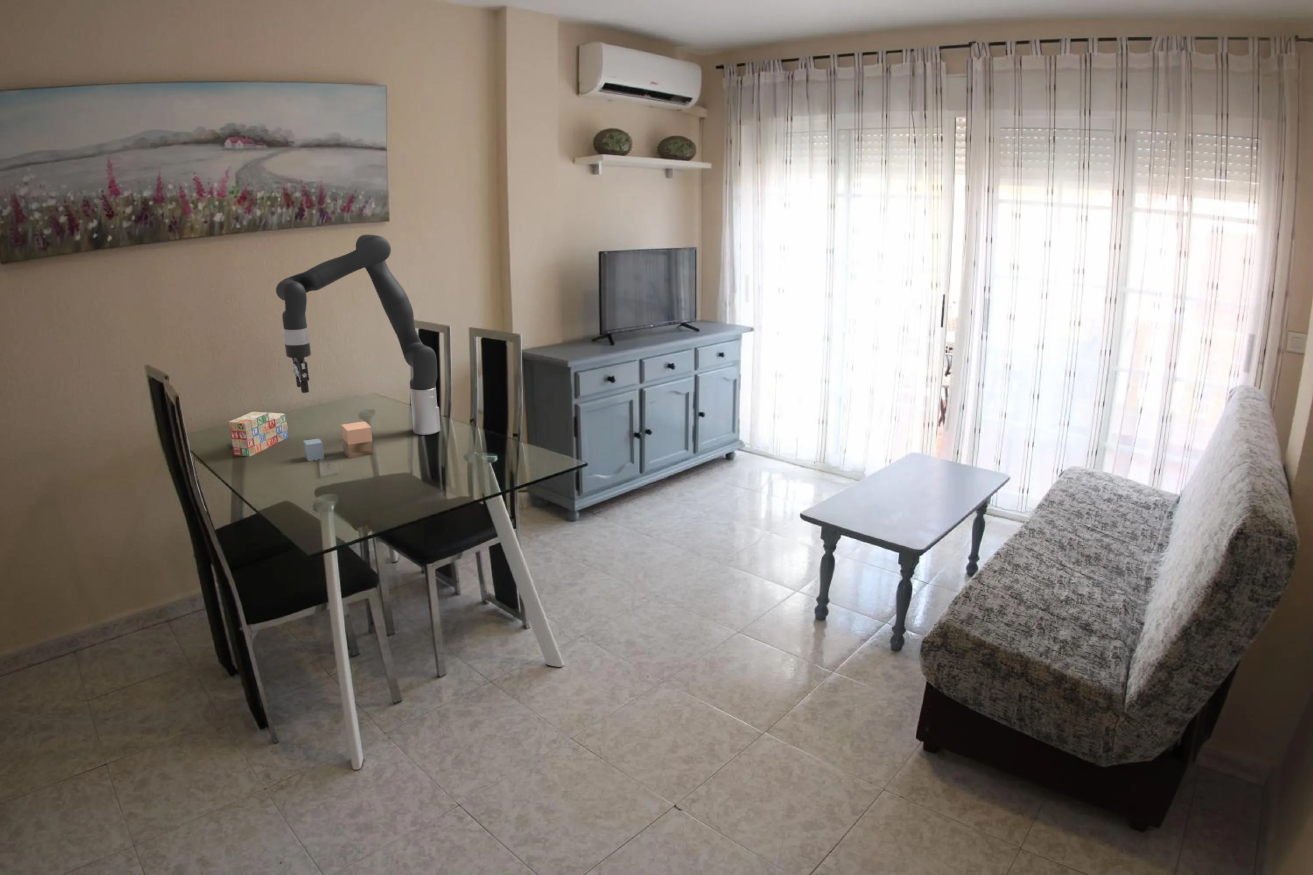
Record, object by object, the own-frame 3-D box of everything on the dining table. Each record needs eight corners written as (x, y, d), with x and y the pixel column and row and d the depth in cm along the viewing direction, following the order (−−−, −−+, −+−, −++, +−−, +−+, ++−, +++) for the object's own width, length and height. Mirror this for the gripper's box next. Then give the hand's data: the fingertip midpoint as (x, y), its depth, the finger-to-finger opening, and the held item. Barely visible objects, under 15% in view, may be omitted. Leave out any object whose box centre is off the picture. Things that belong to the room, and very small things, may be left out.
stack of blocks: (274, 436, 296) (269, 404, 292) (289, 437, 294) (285, 405, 290) (233, 455, 276) (228, 421, 272) (249, 457, 274) (244, 422, 271)
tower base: (367, 448, 286) (365, 434, 284) (373, 454, 279) (371, 441, 278) (343, 451, 281) (342, 438, 280) (349, 458, 275) (348, 444, 274)
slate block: (320, 454, 278) (318, 438, 276) (324, 459, 274) (322, 442, 272) (305, 457, 275) (303, 440, 273) (308, 461, 271) (306, 444, 269)
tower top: (366, 434, 284) (364, 421, 283) (372, 440, 278) (371, 427, 276) (342, 438, 280) (341, 424, 278) (348, 444, 274) (347, 430, 272)
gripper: (313, 344, 260) (319, 393, 265) (305, 337, 271) (310, 383, 277) (288, 347, 256) (294, 396, 261) (281, 339, 268) (287, 386, 273)
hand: (302, 389), depth 269 cm, fingers open, 8 cm apart
